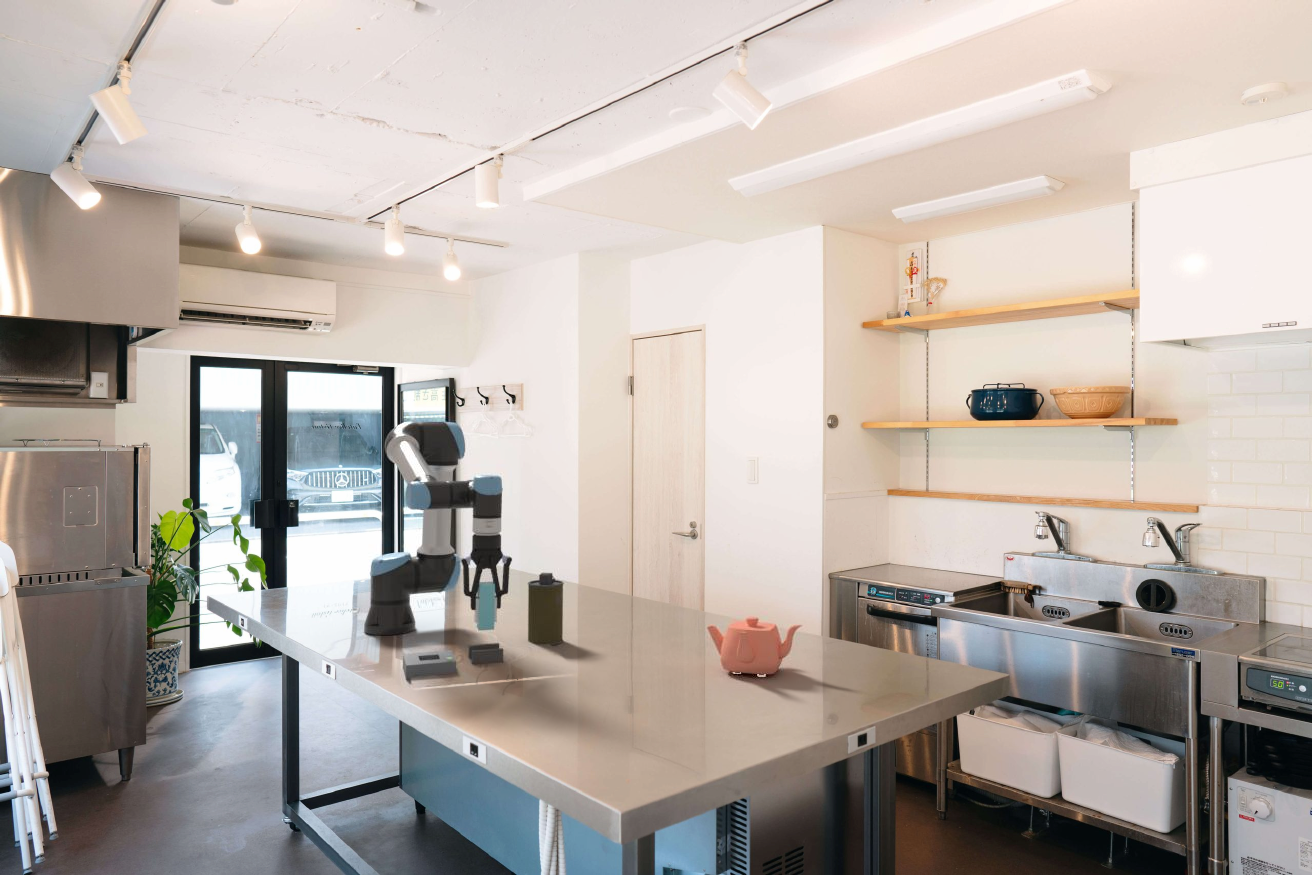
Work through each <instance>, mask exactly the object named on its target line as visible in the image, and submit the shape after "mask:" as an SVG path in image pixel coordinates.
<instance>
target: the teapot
mask: <svg viewBox="0 0 1312 875" xmlns="http://www.w3.org/2000/svg"><path fill="white" fill-rule="evenodd" d="M759 620H760V619H759V617H756V616H747V617H745V620H736V621H733V622H731V623H730V624H729V625H728V626H727V628H726V631H725V634H724V636H723V634H722V633H721V632H720V630H719V629H718V628H717V627H716V625H708V626H707V627H706V628H707V630H708V632H709V634H710V638H711V639H712V641H713V643H714V646H715V648H716V650H717V651H718V654H719V656H720V657H719V658H720V663H721V666H722V668H723V670H725V671H728V672H731V673H732V672H735V673H740V672H741V673H742V674H750V675H751V674H752V675H754V674H755V675H756V674H759V675H764V674H766V675H772V674H775V673H776V672H777V671H778V670H779V668H780V666H781V665H782V662H783V659H784V658H786V657H787V656H789V653H790V652H791V649H792V645H793V642H794V641H793V640H794V635H795V632H797V630H799V628H801V627H802V626H803V624H794V625H792V626H791V625H790V627H789V628H788V629H787V630H786V636H785V639H784V641H783V642H782V640H781V636H780V633H779V629H778V626H777V624H776V623H771V622H763V621H759Z"/></svg>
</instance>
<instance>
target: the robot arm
mask: <svg viewBox="0 0 1312 875" xmlns="http://www.w3.org/2000/svg"><path fill="white" fill-rule="evenodd" d="M465 440H466V439H465V435H464V432H463V430H462V427H461V426H460V425H459V424H458V423H456V422H449V421H415V420H413V421H411V420H410V421H406V422H405V421H404V422H402V423H399V424H398V425H397V426H395V427H393V429H391V430H390V431H389V433H388V434H387V436H386V438H385V441H384V451H385V454H386V456H387V459H389V461H391V462H392V463H394V464H395V465H396V466H397V469H398V470H399V472H400V474H401V476H402V477H403V479H404V481H405V483H406V488H405V501H406V506H407V508H408V509H410V510H412V511H413V510H415V511H416V510H419V511H423V512H422V534H421V535H422V538H421V542H422V543H421V545H420V546H419V547H417V549H416V556H412V555H411V553H410V552H408V551H407V552H406V551H402V552H401V551H400V552H393V553H386V554H382V555H379V556H377V557H375V558H373V559H372V560H371V565H370V572H369V574H370V606H369V609H368V611H367V614H366V617H365V621H364V624H363V625H364V626H363V631H364V633H365V634H367V635H368V634H369V635H374V636H391V635H394V636H395V635H402V634H407V633H410V632H413V631H415V630H416V619H415V615H414V613H413V610H412V607H411V595H419V594H431V593H440V594H441V593H442V592H448V591H452V590H453V589H455V588H456V586H457V585H458V583H459V580H460V575H461V565H462V571H463V572H462V573H463V574H462V575H463V576H462V577H463V583H462V586H463V594H464V595H465V597H468V598H469V597H470V609H471V611H474V623H475V624H477V623H479V598H478V596H477V591H478V587H479V582H481V577H482V573H483V570H486V569H488V570H489V569H490V573H491V579H492V582H493V583H494V584H495V613H494V623H497V620H498V618H497V617H498V615H497V614H498V609H500V610H501V608H502V596H504V595H508V593H509V585H510V584H509V583H510V582H509V580H510V565H511V563H512V562H513V558H512V557H511V556H509V555H505V554H503V551H502V535H501V534H500V533H501V532H502V513H503V512H502V509H503V508H502V504H503V482H502V481H503V480H502V478H501V476H499V475H492V474H491V475H490V474H489V475H488V474H479V475H475V476H474V477H473V479H467V480H454V479H453V476H454V475H453V472H454V470H455V469H456V468H457V467H458V466H459V460H462V459H463V458H464V456H465V453H466V441H465ZM452 509H459V510H460V509H472V533H473V535H472V537H471V538H472V539H471V540H472V542H471V545H472V546H471V552H470V554H469V555H468V556H466V557H462V558H460V556H459V555H458V554H456V553H455V552H456V551H455V549H454V548H453V546H451V527H452V526H451V524H452V523H451V522H452ZM501 560H502V561H501ZM471 561H472V562H473V563H474V564H475V571H474V577H473V581H472V584H471V585H472V586H471V589H470V565H471ZM500 561H501V562H502V563H503V568H502V585H501V586H500V581H499V580H500V579H499V576H498V575H499V574H498V568H497V565H498V564H499V563H500Z"/></svg>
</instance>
